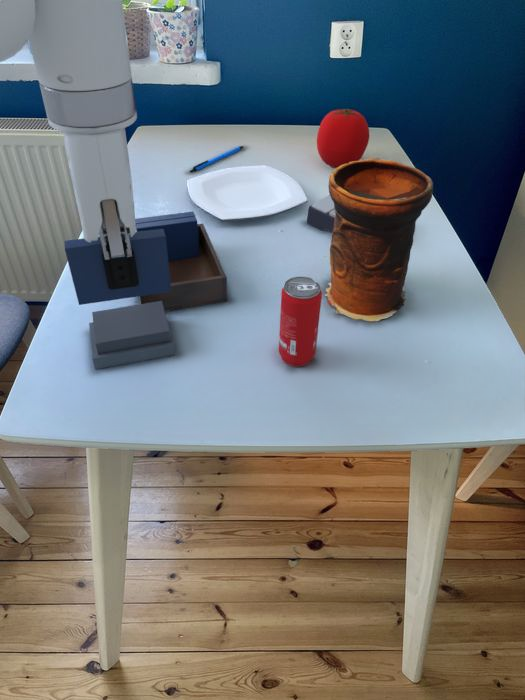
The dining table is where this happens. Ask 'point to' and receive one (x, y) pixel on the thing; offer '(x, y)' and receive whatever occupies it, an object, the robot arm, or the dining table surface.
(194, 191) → the plate
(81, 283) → the blue book
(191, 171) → the pen
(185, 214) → the blue books
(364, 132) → the tomato
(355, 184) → the vessel
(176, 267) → the book box
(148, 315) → the grey books
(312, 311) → the beverage can
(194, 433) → the dining table surface
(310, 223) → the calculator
